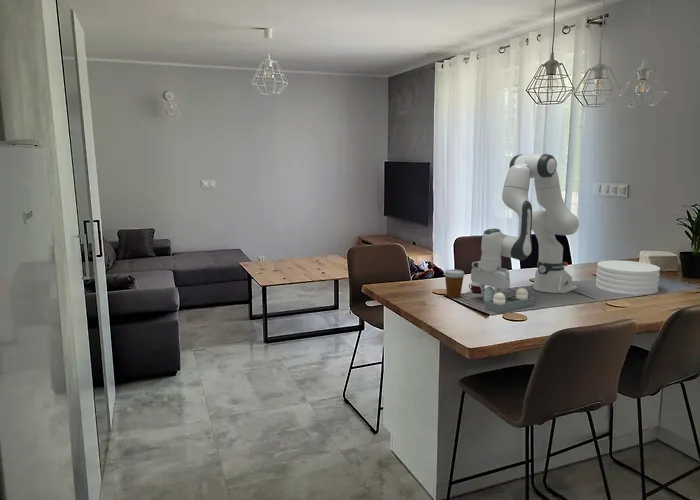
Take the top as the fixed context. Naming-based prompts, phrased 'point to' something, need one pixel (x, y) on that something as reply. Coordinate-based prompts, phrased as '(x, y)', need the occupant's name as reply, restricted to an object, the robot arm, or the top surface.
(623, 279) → the plate stack
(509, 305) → the egg crate
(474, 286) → the cocoa
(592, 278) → the top surface
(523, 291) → the inner cream egg
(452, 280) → the disposable coffee cup
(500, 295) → the outer cream egg
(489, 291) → the blue egg
